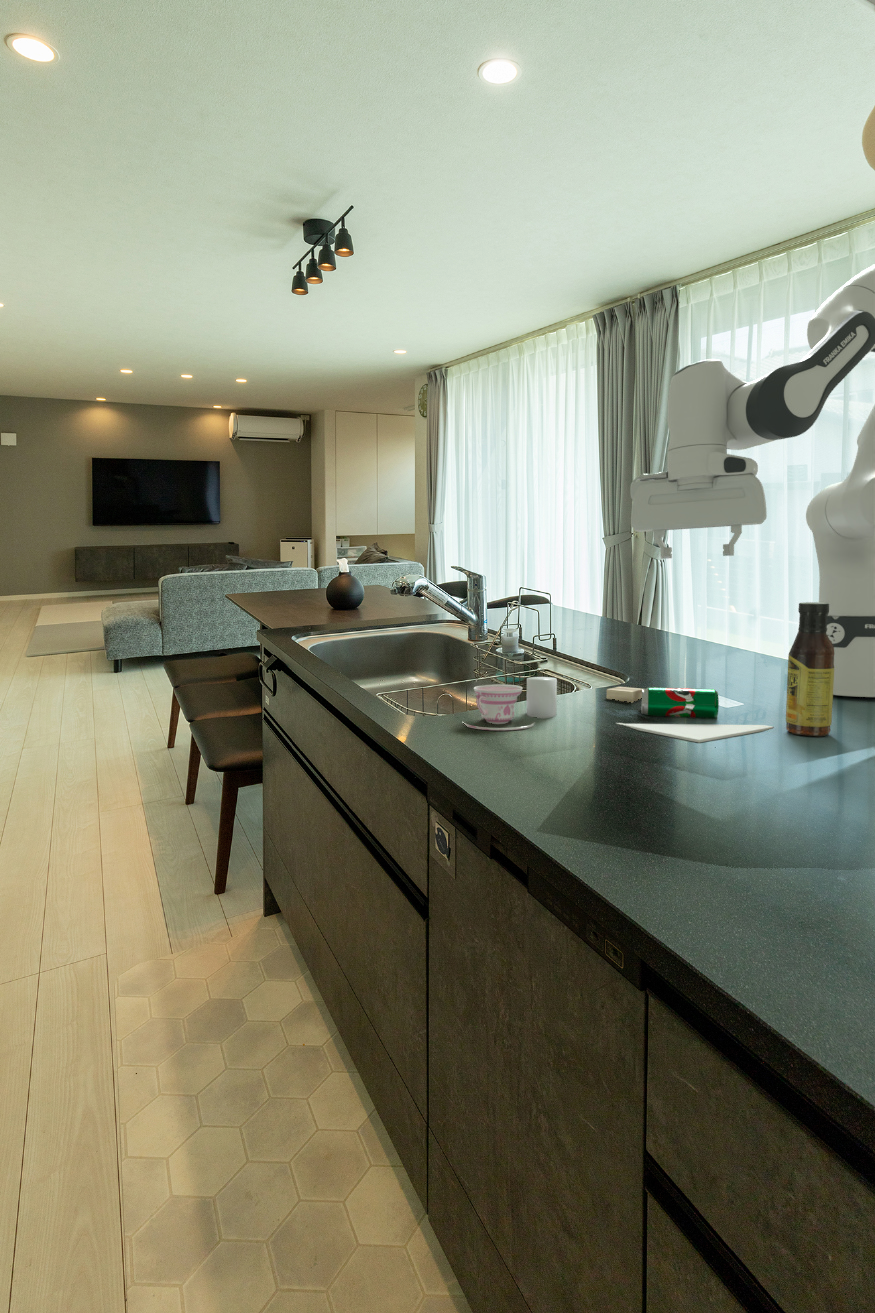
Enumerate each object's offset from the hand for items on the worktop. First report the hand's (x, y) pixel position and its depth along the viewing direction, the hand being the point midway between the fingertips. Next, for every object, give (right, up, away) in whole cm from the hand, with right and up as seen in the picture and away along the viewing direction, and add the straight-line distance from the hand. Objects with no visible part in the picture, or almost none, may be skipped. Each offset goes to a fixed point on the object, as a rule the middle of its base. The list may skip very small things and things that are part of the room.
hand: (696, 557), depth 117 cm
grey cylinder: (-24, -27, +7) cm, 36 cm away
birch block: (-7, -26, +17) cm, 32 cm away
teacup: (-31, -27, +3) cm, 42 cm away
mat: (-1, -27, +1) cm, 27 cm away
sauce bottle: (+15, -28, -6) cm, 32 cm away
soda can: (+5, -24, +4) cm, 25 cm away
